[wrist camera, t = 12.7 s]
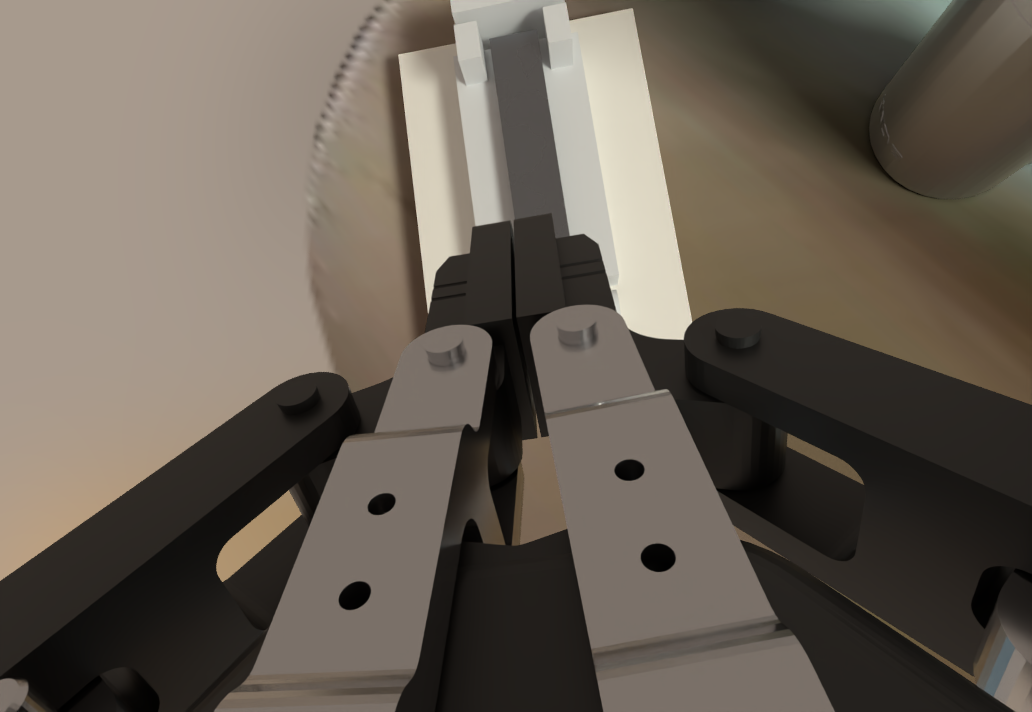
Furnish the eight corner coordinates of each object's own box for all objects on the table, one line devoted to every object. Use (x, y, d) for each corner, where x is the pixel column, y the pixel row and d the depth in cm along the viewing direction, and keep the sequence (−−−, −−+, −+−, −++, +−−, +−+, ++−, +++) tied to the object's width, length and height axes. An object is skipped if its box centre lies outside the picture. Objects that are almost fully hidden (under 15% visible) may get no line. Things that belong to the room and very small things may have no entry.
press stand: (630, 27, 46) (637, -48, 39) (697, 382, 41) (717, 366, 35) (406, 71, 47) (375, 6, 41) (447, 419, 43) (419, 410, 36)
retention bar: (538, 40, 42) (536, 28, 41) (583, 323, 38) (583, 318, 37) (491, 50, 42) (488, 37, 41) (532, 331, 38) (530, 327, 37)
